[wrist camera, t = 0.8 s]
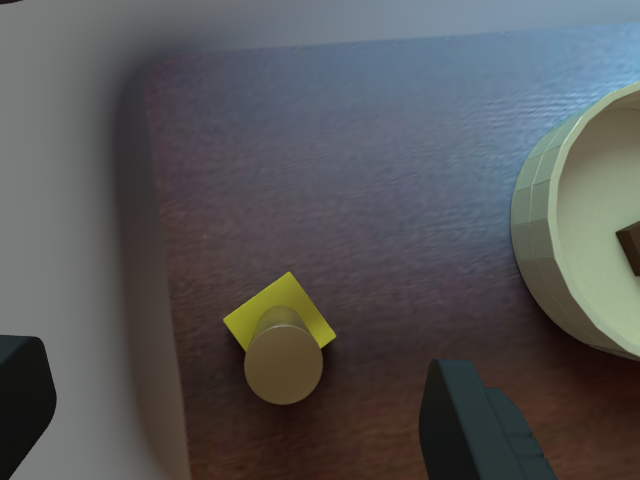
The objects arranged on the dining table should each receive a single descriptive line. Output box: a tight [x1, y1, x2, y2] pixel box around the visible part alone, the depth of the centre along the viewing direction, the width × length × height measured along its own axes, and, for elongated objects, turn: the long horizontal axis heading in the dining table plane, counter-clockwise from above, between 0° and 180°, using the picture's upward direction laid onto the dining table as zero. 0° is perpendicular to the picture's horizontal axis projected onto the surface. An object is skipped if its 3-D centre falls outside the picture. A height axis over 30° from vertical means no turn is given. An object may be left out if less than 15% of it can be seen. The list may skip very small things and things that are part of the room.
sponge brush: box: [223, 272, 336, 405], centre depth 22 cm, size 5×5×14 cm
